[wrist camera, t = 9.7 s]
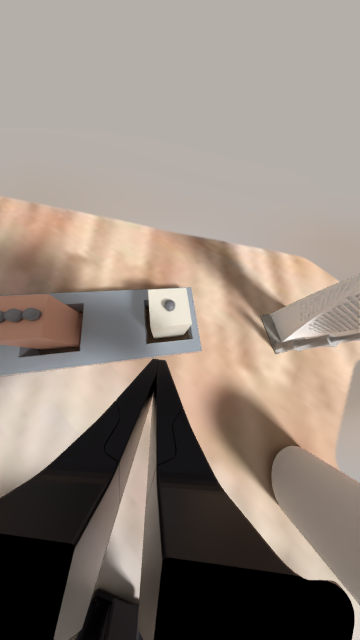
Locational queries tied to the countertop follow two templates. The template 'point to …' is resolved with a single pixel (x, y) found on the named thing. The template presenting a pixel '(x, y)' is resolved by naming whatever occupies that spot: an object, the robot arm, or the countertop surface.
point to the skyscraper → (317, 319)
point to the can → (322, 510)
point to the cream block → (169, 312)
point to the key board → (103, 334)
